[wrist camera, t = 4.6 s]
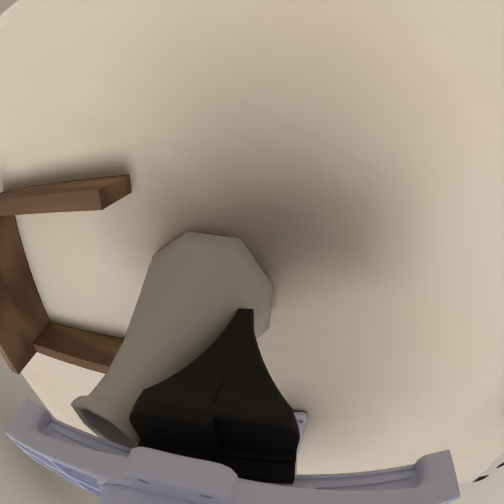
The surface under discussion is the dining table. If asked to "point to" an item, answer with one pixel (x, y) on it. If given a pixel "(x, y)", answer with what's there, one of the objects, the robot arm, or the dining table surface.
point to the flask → (176, 324)
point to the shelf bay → (23, 287)
